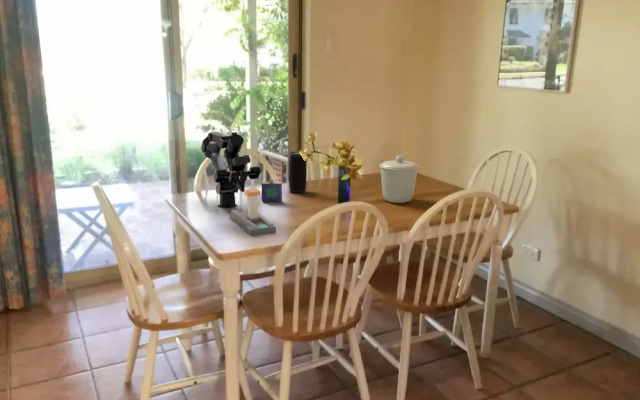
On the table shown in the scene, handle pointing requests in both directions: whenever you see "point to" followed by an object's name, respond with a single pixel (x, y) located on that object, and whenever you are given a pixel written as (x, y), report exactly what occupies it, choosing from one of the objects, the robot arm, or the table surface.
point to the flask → (271, 192)
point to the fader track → (252, 223)
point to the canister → (398, 180)
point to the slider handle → (252, 204)
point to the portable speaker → (297, 173)
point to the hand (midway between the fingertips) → (243, 191)
